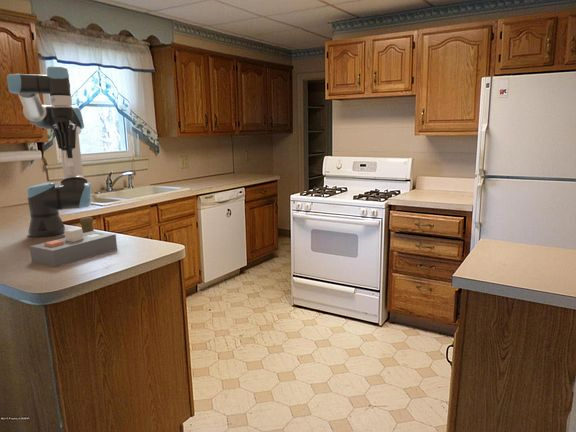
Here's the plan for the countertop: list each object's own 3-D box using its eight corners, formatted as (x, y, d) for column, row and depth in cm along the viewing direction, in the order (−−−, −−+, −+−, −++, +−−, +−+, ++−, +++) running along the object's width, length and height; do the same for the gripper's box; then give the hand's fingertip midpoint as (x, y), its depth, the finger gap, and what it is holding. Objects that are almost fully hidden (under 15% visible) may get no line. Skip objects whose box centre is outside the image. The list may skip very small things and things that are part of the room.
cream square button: (85, 246, 169) (84, 236, 168) (95, 243, 173) (94, 233, 172) (93, 247, 167) (91, 237, 166) (102, 244, 171) (101, 234, 170)
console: (31, 262, 156) (29, 246, 155) (94, 245, 178) (92, 230, 177) (55, 267, 149) (53, 250, 148) (117, 248, 171) (115, 234, 170)
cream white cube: (65, 240, 162) (64, 230, 161) (76, 238, 165) (74, 227, 165) (72, 241, 159) (71, 231, 159) (83, 239, 163) (82, 228, 162)
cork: (92, 239, 187) (89, 215, 185) (99, 241, 183) (96, 216, 181) (78, 242, 182) (75, 217, 180) (85, 245, 178) (82, 219, 176)
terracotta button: (46, 253, 155) (44, 242, 155) (57, 250, 159) (56, 239, 158) (53, 254, 153) (51, 244, 152) (64, 251, 157) (63, 241, 156)
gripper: (43, 107, 172) (50, 166, 176) (63, 106, 166) (70, 167, 170) (60, 108, 178) (67, 165, 183) (80, 106, 172) (87, 165, 177)
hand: (69, 166), depth 177 cm, fingers closed
